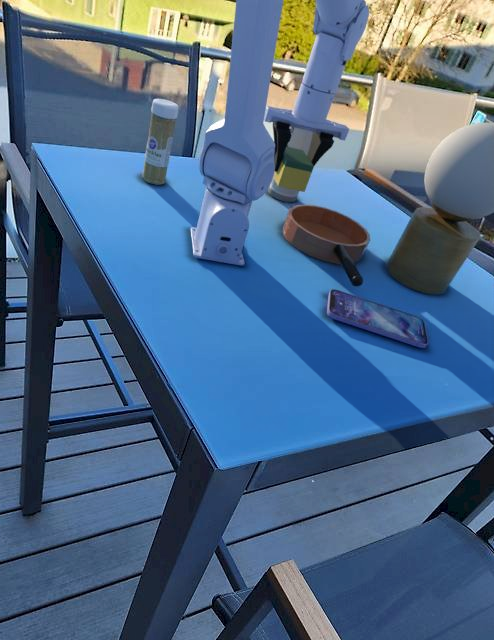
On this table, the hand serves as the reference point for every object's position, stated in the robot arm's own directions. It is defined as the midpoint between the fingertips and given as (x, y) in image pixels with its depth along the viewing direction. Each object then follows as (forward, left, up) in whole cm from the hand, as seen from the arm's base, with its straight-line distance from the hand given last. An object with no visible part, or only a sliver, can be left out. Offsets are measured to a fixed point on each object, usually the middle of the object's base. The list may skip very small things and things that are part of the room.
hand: (289, 172), depth 87 cm
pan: (-7, -8, -8) cm, 13 cm away
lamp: (-12, -25, -9) cm, 29 cm away
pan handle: (-20, -8, -7) cm, 22 cm away
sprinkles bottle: (+6, +23, -9) cm, 25 cm away
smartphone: (-31, -10, -8) cm, 34 cm away
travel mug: (+12, -4, -9) cm, 15 cm away
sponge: (0, 0, -1) cm, 1 cm away
